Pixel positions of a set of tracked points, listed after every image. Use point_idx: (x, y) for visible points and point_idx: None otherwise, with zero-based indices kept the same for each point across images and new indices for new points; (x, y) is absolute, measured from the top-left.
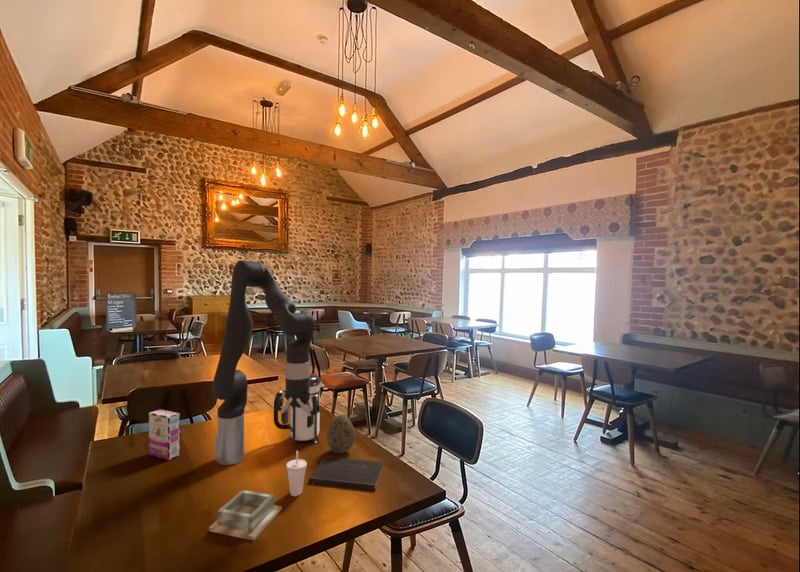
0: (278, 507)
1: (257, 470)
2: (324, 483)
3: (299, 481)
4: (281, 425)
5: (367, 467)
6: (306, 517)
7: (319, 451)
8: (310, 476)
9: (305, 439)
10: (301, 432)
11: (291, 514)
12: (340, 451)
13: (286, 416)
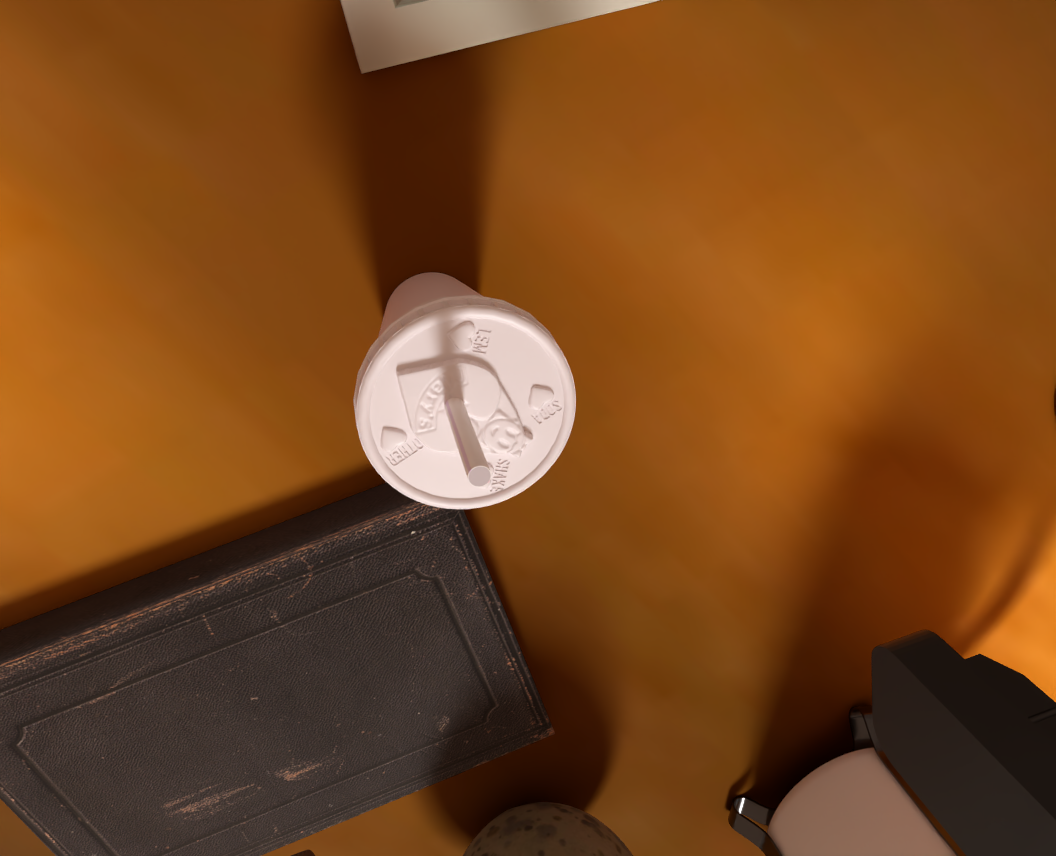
0: (372, 43)
1: (887, 376)
2: (319, 515)
3: (380, 332)
4: None
5: (169, 812)
6: (79, 93)
7: (653, 755)
8: None
9: (805, 782)
10: (860, 811)
11: (230, 60)
12: (489, 826)
13: (1000, 840)
